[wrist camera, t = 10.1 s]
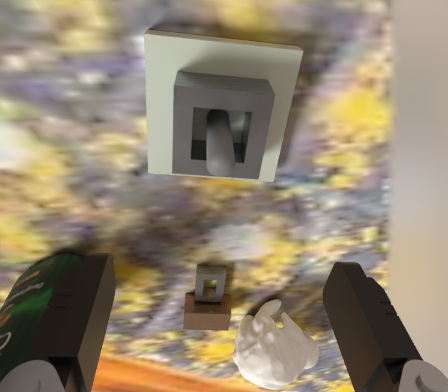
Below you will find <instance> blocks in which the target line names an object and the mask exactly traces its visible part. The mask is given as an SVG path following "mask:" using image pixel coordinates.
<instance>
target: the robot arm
mask: <svg viewBox="0 0 448 392" xmlns="http://www.w3.org/2000/svg"><path fill="white" fill-rule="evenodd" d="M114 296H115V276H114V268H113V259H112V254H111V253H88V254H87V255H86V257H85V260H84V262H83V265H82V268H70V269H69V270H68V271H67V272H66V273H65V274H64V275H63V276H62V277H61V278H60V279H59V280H58V281H57V284H56V286H55V288H54V290H53V293H52V297H51V298H50V300H49V302H48V304H47V306H46V310H45V311H44V313H43V315H42V318H41V320H40V322H39V325H38V327H37V329H36V331H35V334H34V336H33V338H32V341H31V343H30V345H29V347H28V350H27V352H26V354H25V356H24V358H23V360H22V361H21V363H20V364H19V365H18V366H17V367H16V368H14V369H13V370H12V371H10V372H9V373H8V374H7V375H6V376H5V377H4V378H3V379H1V380H0V392H91V389H92V385H93V381H94V377H95V373H96V369H97V365H98V361H99V357H100V353H101V349H102V345H103V341H104V337H105V333H106V329H107V325H108V321H109V317H110V313H111V309H112V305H113V301H114ZM323 302H324V306H325V309H326V312H327V314H328V317H329V320H330V323H331V326H332V329H333V331H334V334H335V337H336V340H337V343H338V345H339V348H340V351H341V354H342V357H343V359H344V362H345V365H346V368H347V371H348V373H349V376H350V379H351V382H352V385H353V388H354V390H355V392H448V379H447V378H446V377H445V375H444V374H443V373H442V372H441V371H440V370H438V369H437V368H436V367H434V366H433V365H431V364H429V363H427V362H425V361H423V359H422V358H421V356H420V354H419V352H418V351H417V349H416V347H415V345H414V343H413V342H412V340H411V338H410V336H409V334H408V332H407V331H406V329H405V327H404V325H403V324H402V322H401V320H400V318H399V316H397V313H396V311H395V309H394V307H393V306H392V305H391V302H390V300H389V298H388V296H387V294H386V293H385V291H384V289H383V288H382V287H381V286H380V285H379V284H378V283H377V282H376V281H375V280H374V279H373V278H372V277H366V275H365V273H364V271H363V269H362V267H361V266H360V264H358V263H356V262H336V263H335V264H334V266H333V268H332V270H331V273H330V275H329V277H328V279H327V282H326V284H325V286H324V289H323Z"/></svg>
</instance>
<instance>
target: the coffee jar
mask: <svg viewBox="0 0 448 392" xmlns="http://www.w3.org/2000/svg"><path fill="white" fill-rule="evenodd" d="M84 260H85V258H83V257H81V256H78V255H74V254H70V253H65V254H60V255H56V256H54V257H51V258H49V259H46V260H44V261H42V262H40V263H38V264H37V265H35V266H33V267H32V268H30V269H29V270H27V271H26V272H25V273H23V274H22V275H21V276H20V277H19V278H18V280H17V281H16V283H15V285H14V286H13V288H12V290H11V292H10V293H9V295H8V297H7V299H6V301H5V303H4V304H3V306H2V308H1V310H0V380H1V379H3V378H4V377H5V376H6V375H7V374H8V373H9V372H10V371H12V370H13V369H14V368H16V367H17V366H18V365H19V364H20V363H21V361H22V360H23V358H24V356H25V354H26V352H27V350H28V347H29V345H30V343H31V341H32V338H33V336H34V334H35V331H36V329H37V327H38V325H39V322H40V320H41V318H42V315H43V313H44V311H45V310H46V306H47V304H48V302H49V300H50V298H51V297H52V293H53V290H54V288H55V286H56V284H57V281H58V280H59V279H60V278H61V277H62V276H63V275H64V274H65V273H66V272H67V271H68V270H69V269H70V268H82V265H83V262H84Z"/></svg>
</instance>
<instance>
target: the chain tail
mask: <svg viewBox="0 0 448 392" xmlns="http://www.w3.org/2000/svg"><path fill="white" fill-rule="evenodd" d="M204 280H216V285H215V288H203V286H204ZM225 280H226V266H208V265H197V272H196V284H195V294H186V296H185V312H184V327H183V329H187V330H228V328H229V323H230V318H231V303H230V295H223V292H224V286H225Z"/></svg>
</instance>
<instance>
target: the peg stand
mask: <svg viewBox="0 0 448 392" xmlns="http://www.w3.org/2000/svg"><path fill="white" fill-rule="evenodd" d="M144 43H145V77H146V112H147V146H148V173H152V174H167V175H181V176H196V177H210V178H225V179H239V180H254V181H268V182H273V181H274V176H275V172H276V168H277V163H278V159H279V155H280V150H281V146H282V142H283V137H284V133H285V129H286V124H287V120H288V116H289V111H290V107H291V103H292V98H293V94H294V90H295V86H296V81H297V77H298V73H299V68H300V64H301V60H302V55H303V50H302V49H301V48H300V47H299V46H293V45H284V44H275V43H266V42H257V41H248V40H238V39H229V38H220V37H211V36H202V35H193V34H184V33H175V32H166V31H157V30H147V31H146V32H145V34H144ZM177 71H184V72H195V73H205V74H215V75H225V76H236V77H246V78H256V79H267V80H268V81H269V83H270V85H271V87H272V89H273V91H274V93H275V100H274V105H273V110H272V115H271V120H270V125H269V130H268V135H267V140H266V145H265V150H264V155H263V160H262V165H261V170H260V175H259V179H245V178H230V177H225V176H228V175H229V174H231V173H232V172H233V171H234V169H235V156H234V149H233V143H241V137H242V130H243V123H244V116H245V112H244V111H232V110H221V109H209V108H198V107H194V117H193V135H192V139H194V140H207V169H208V171H209V172H210V173H211V174H212V175H214V176H201V175H186V174H172V149H173V91H174V82H175V78H176V74H177ZM215 176H217V177H215Z"/></svg>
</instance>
